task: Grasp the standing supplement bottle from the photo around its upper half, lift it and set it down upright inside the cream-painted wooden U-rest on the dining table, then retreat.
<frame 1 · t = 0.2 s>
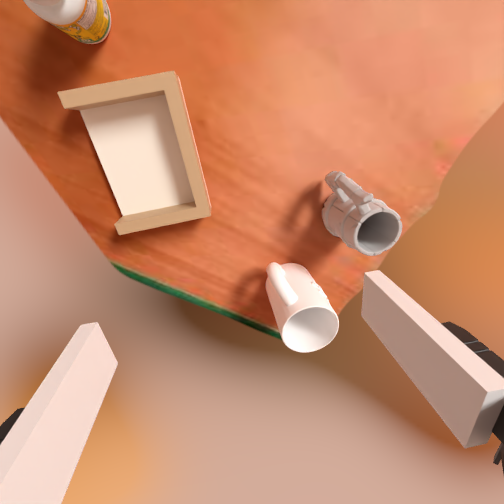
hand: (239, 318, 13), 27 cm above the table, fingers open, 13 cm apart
u rest: (151, 157, 35), on the table
mug: (336, 199, 41), on the table
mug 2: (282, 274, 45), on the table
supplement bottle: (85, 15, 28), on the table
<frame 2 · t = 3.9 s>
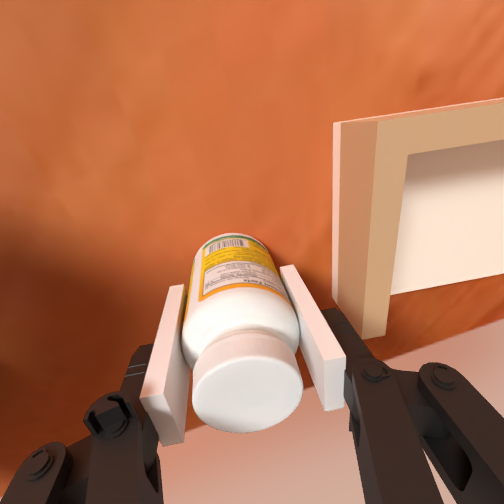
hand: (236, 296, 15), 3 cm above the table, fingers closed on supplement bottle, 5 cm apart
u rest: (446, 203, 18), on the table
supplement bottle: (232, 266, 18), on the table, touching gripper
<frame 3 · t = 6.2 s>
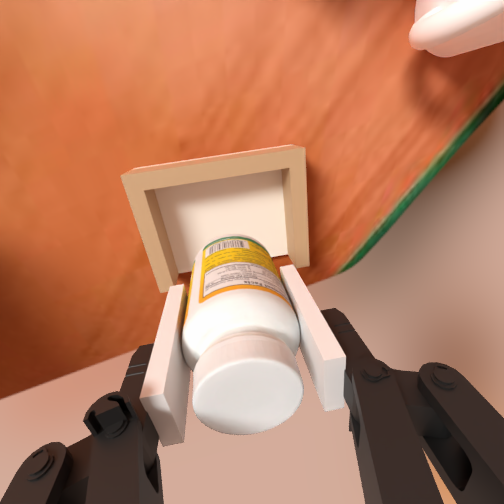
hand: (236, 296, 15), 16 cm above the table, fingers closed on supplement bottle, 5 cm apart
u rest: (224, 212, 29), on the table
mug 2: (433, 17, 24), on the table
supplement bottle: (232, 267, 18), point 13 cm above the table, touching gripper
when the fingers open (5 cm above the table, at t = 8.7 s): supplement bottle stays where it is, resting on u rest.
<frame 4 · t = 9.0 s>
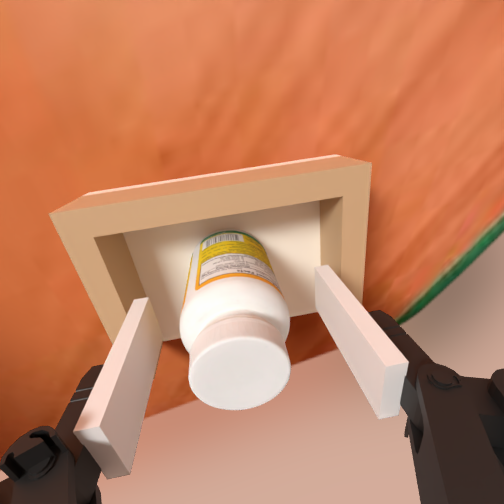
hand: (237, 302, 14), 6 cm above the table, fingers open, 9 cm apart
u rest: (230, 255, 20), on the table
supplement bottle: (228, 260, 19), point 1 cm above the table, touching u rest
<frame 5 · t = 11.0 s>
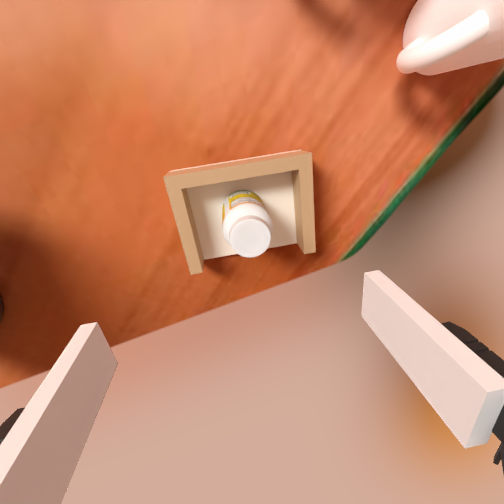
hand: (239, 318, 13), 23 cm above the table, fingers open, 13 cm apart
u rest: (243, 207, 35), on the table
mug 2: (418, 43, 29), on the table
supplement bottle: (242, 209, 34), point 1 cm above the table, touching u rest
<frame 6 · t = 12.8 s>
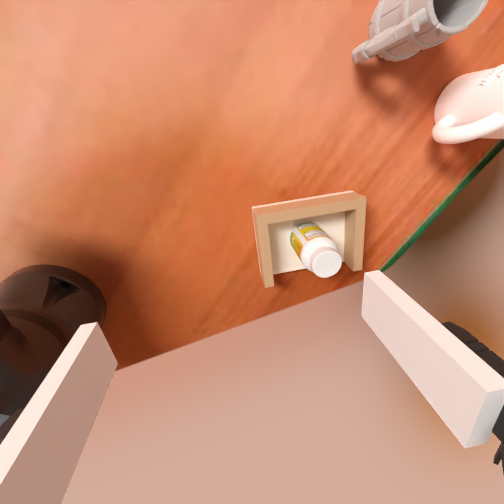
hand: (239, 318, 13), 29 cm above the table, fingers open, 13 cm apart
u rest: (303, 234, 44), on the table
mug: (379, 37, 33), on the table
mug 2: (445, 113, 39), on the table
supplement bottle: (304, 236, 43), point 1 cm above the table, touching u rest
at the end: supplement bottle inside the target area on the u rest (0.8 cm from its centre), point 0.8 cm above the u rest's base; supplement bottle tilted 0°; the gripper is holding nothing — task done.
